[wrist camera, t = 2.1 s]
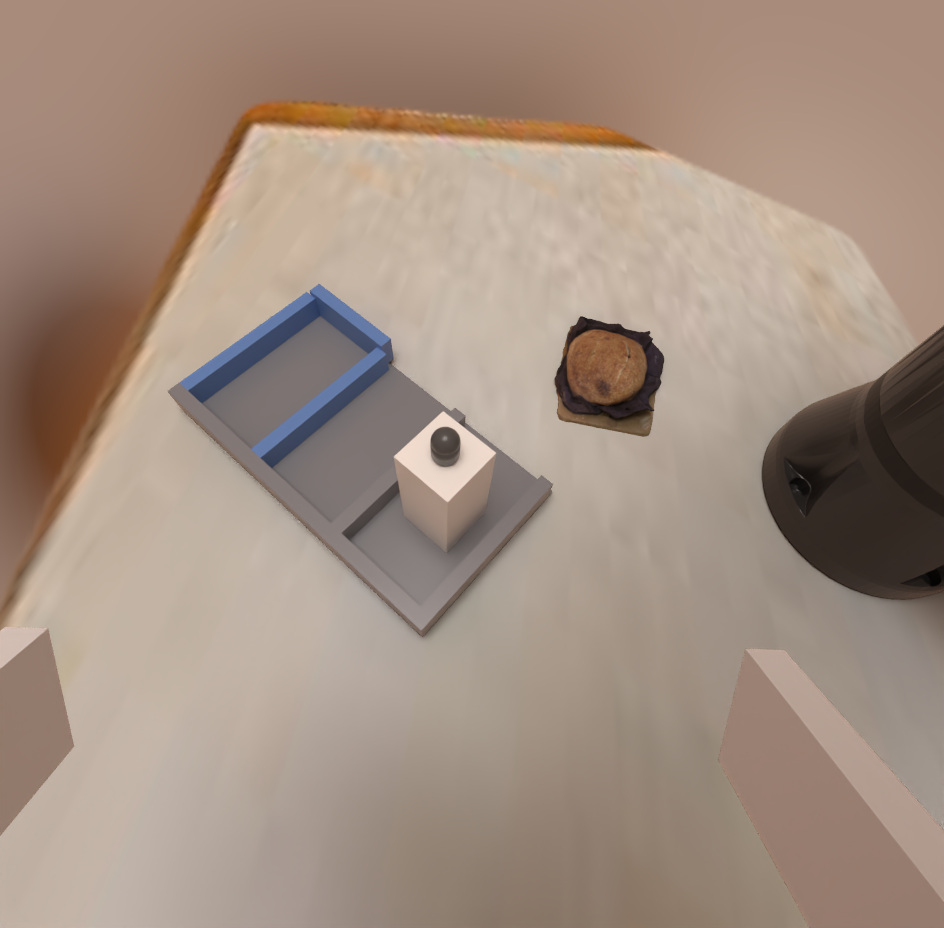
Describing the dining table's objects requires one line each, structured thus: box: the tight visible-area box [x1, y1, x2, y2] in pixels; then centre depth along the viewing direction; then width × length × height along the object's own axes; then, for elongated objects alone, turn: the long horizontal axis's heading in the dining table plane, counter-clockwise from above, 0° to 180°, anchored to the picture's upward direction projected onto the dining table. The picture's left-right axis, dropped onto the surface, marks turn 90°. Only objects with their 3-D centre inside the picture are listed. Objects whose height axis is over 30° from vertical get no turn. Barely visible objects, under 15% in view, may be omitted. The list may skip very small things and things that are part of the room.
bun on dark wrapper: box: [555, 317, 664, 436], centre depth 44 cm, size 11×8×4 cm
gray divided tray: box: [168, 284, 553, 637], centre depth 40 cm, size 14×25×3 cm, turn 49°
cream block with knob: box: [394, 411, 496, 553], centre depth 33 cm, size 4×4×11 cm
